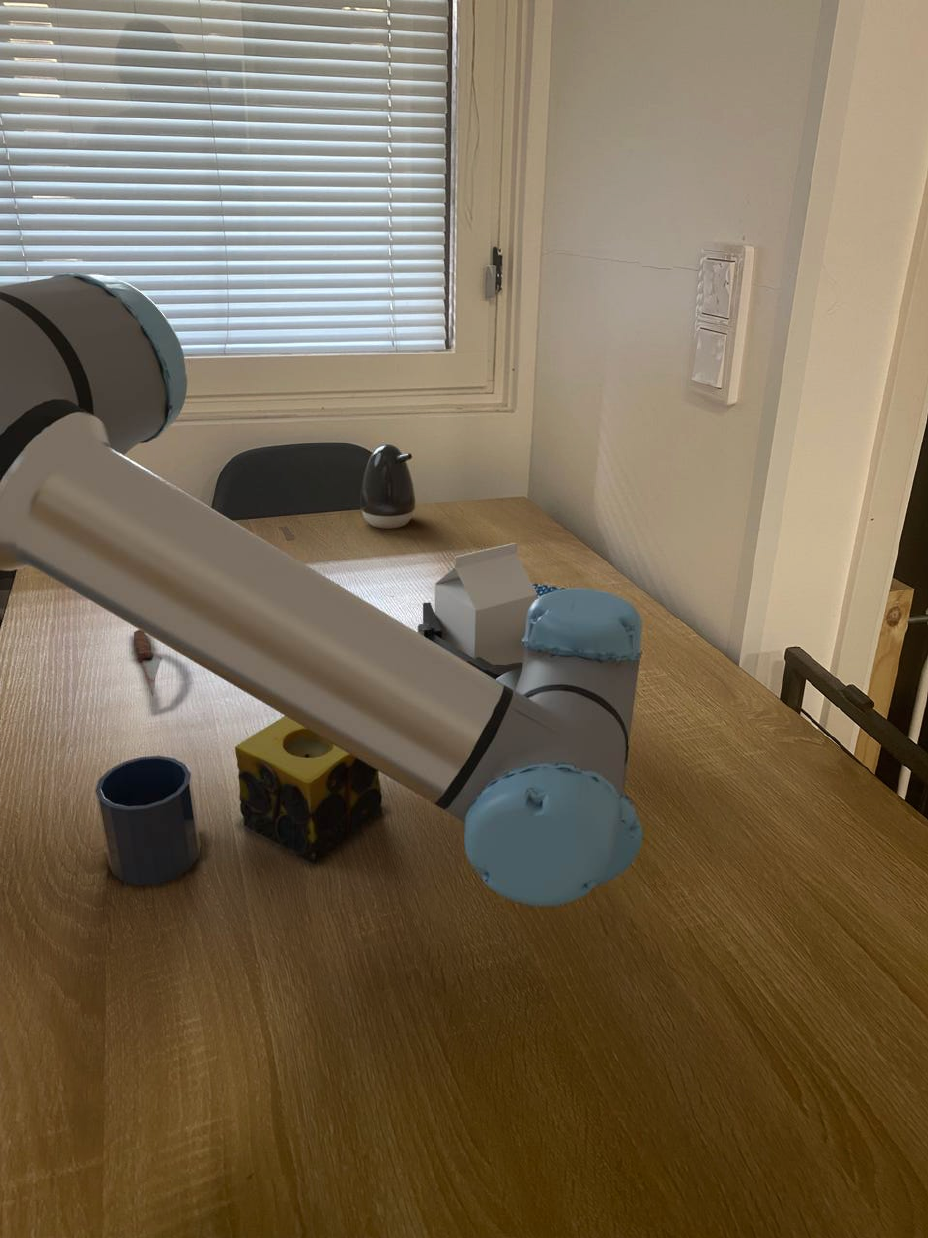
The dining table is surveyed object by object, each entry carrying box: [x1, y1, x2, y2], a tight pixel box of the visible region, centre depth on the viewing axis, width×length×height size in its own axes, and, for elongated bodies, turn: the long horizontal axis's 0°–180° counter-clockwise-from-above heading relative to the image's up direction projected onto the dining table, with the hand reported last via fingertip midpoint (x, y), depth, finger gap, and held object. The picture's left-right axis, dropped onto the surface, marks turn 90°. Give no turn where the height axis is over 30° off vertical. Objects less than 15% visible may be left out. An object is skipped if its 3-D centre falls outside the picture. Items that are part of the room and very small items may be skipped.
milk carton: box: [434, 542, 537, 665], centre depth 90 cm, size 7×7×19 cm
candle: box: [234, 715, 383, 865], centre depth 88 cm, size 10×10×10 cm
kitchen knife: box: [133, 629, 163, 697], centre depth 116 cm, size 21×2×5 cm
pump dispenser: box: [359, 443, 417, 530], centre depth 165 cm, size 10×10×15 cm
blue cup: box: [94, 755, 201, 887], centre depth 83 cm, size 8×8×9 cm
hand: (474, 611), depth 93 cm, fingers closed on milk carton, 9 cm apart
